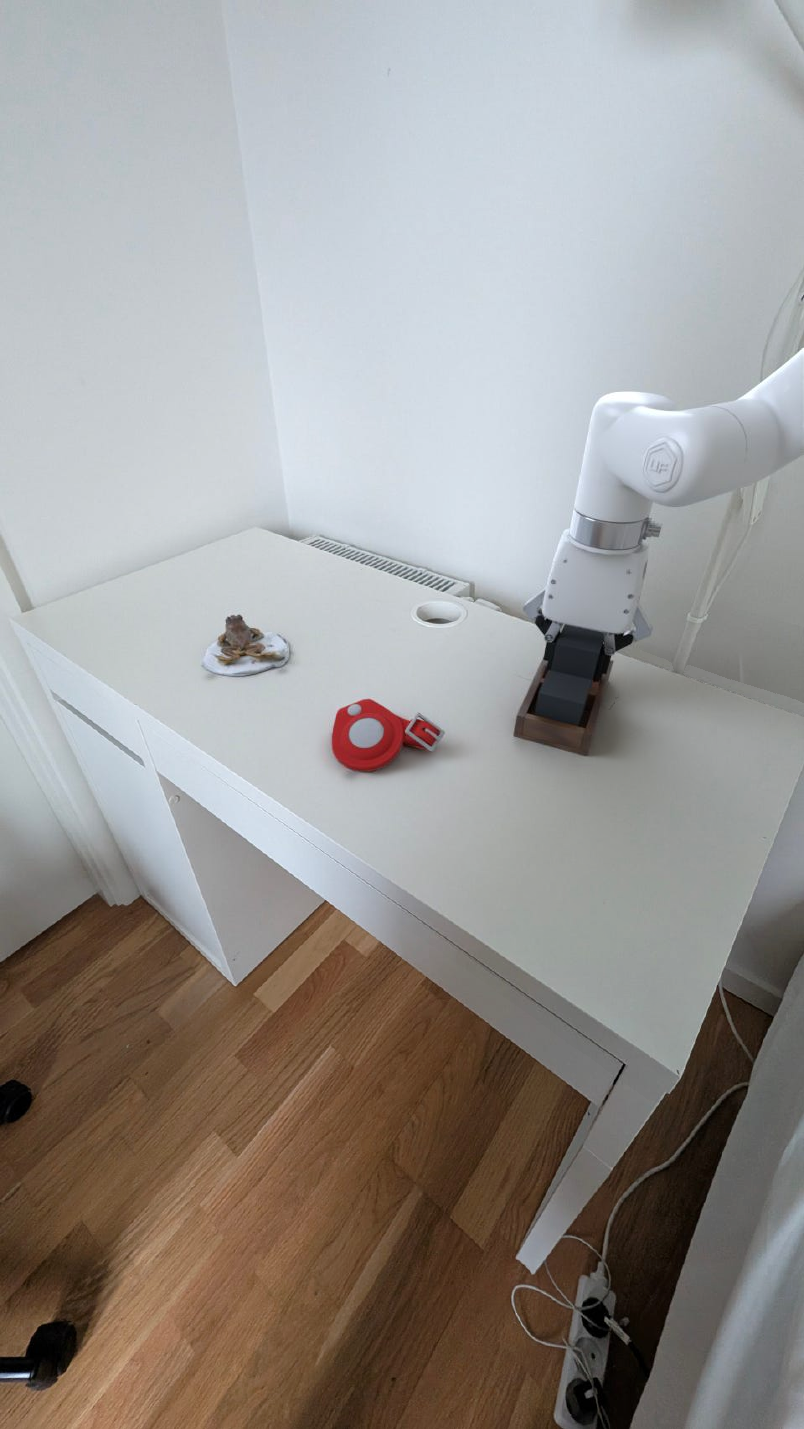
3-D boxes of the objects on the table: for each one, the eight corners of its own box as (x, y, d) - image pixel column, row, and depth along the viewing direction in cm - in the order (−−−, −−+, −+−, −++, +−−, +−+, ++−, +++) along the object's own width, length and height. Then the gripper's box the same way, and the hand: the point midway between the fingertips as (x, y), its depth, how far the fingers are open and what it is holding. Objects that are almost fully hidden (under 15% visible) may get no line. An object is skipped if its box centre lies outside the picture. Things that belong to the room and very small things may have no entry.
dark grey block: (597, 666, 73) (606, 632, 70) (590, 688, 70) (599, 653, 66) (557, 657, 75) (564, 623, 72) (549, 678, 71) (556, 643, 68)
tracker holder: (343, 778, 60) (314, 706, 65) (351, 796, 63) (323, 727, 69) (450, 732, 61) (412, 666, 67) (451, 753, 65) (416, 689, 70)
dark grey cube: (583, 713, 69) (592, 679, 66) (575, 739, 66) (584, 704, 62) (541, 703, 71) (548, 669, 68) (532, 727, 67) (538, 692, 64)
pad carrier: (608, 680, 76) (613, 660, 74) (587, 756, 64) (592, 735, 62) (544, 665, 78) (548, 646, 76) (513, 736, 67) (516, 715, 65)
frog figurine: (192, 643, 82) (186, 620, 80) (274, 624, 86) (270, 601, 84) (210, 686, 74) (204, 661, 72) (299, 662, 78) (296, 638, 76)
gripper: (695, 528, 61) (648, 671, 72) (535, 504, 66) (515, 641, 77) (692, 555, 55) (641, 704, 67) (518, 527, 61) (499, 670, 72)
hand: (574, 669), depth 72 cm, fingers closed on dark grey block, 5 cm apart
